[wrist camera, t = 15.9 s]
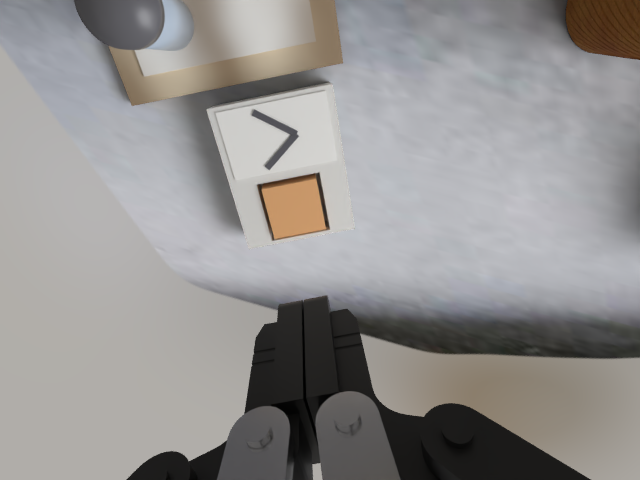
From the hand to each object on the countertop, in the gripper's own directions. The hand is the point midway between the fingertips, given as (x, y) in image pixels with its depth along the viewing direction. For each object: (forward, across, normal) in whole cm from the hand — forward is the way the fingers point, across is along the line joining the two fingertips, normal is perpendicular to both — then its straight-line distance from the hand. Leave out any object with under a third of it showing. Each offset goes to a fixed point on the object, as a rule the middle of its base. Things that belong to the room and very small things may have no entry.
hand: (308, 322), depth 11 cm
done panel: (+18, +1, 0) cm, 18 cm away
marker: (+16, +6, -11) cm, 20 cm away
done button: (+17, +1, +2) cm, 17 cm away
